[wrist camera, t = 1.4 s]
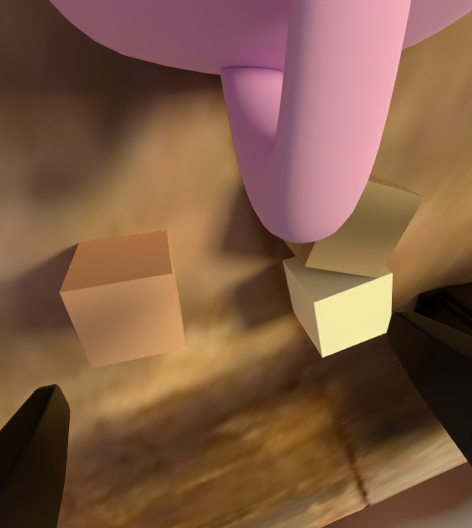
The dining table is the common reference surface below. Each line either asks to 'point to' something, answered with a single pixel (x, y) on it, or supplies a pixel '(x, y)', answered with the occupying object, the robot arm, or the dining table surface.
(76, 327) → the terracotta cube
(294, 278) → the cream cube
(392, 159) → the dining table surface
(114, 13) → the teapot
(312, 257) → the walnut cube
